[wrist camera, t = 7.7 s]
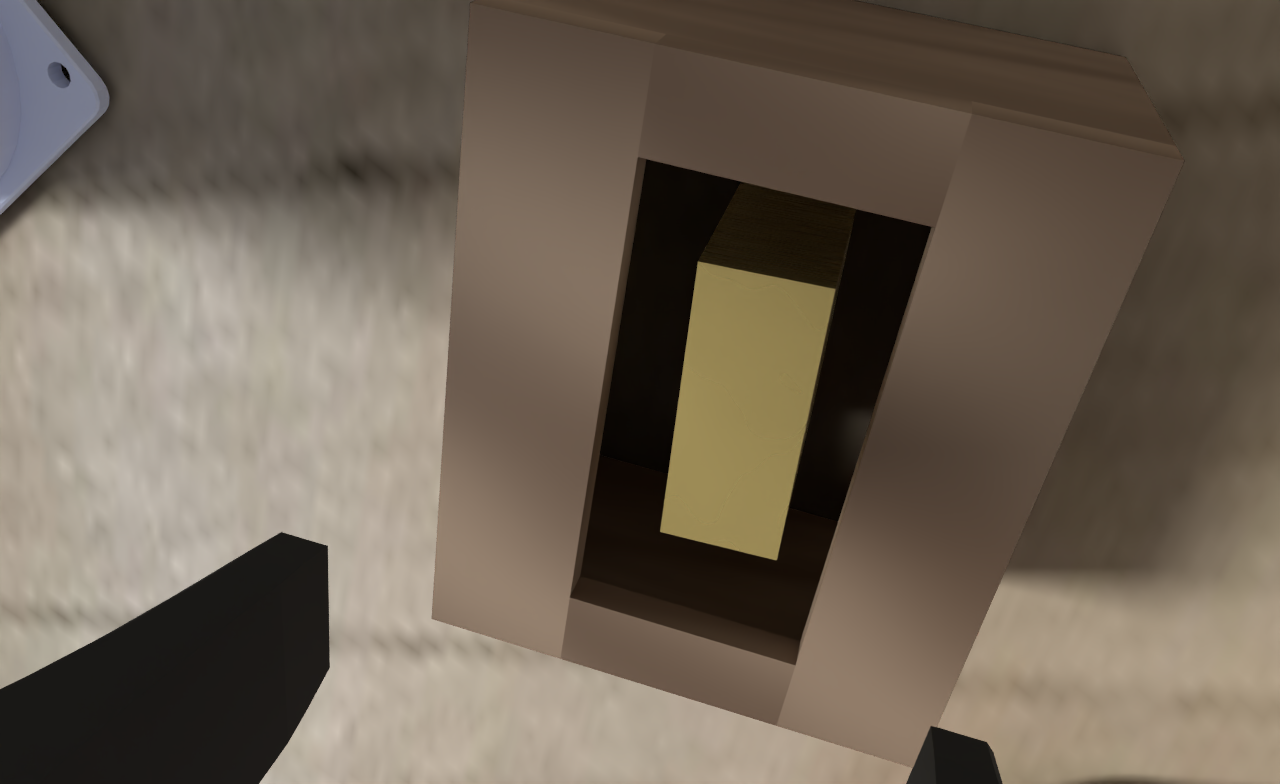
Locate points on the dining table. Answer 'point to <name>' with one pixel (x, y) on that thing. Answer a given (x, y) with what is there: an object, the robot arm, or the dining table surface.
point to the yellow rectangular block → (753, 367)
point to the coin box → (914, 380)
